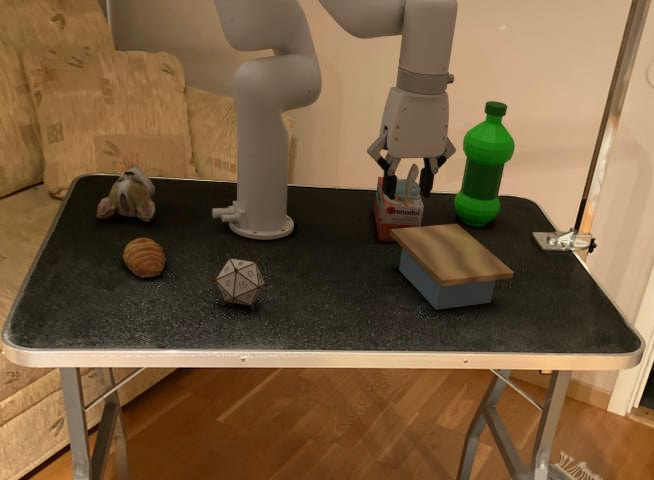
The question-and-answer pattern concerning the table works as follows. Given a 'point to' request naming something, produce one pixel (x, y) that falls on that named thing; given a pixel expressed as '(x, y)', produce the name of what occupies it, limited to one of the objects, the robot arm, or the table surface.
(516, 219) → the table surface
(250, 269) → the game die
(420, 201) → the medicine box
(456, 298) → the blue box
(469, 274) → the board
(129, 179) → the ceramic sculpture
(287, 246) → the table surface
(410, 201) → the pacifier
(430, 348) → the table surface
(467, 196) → the plastic bottle
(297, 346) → the table surface
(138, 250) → the pastry
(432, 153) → the robot arm
